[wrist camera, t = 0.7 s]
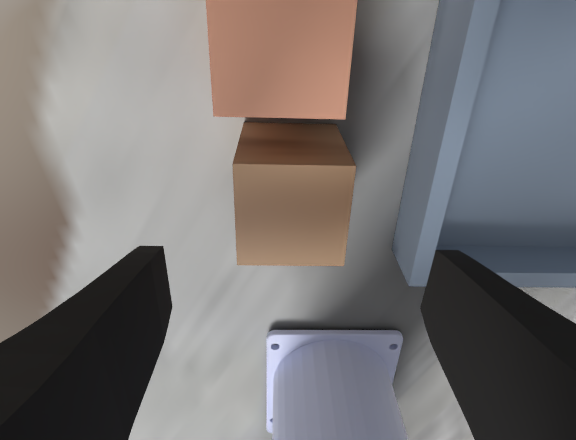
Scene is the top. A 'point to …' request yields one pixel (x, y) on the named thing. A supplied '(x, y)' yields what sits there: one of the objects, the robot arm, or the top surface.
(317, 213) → the tan block
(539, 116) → the tray
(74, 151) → the top surface
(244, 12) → the terracotta block
